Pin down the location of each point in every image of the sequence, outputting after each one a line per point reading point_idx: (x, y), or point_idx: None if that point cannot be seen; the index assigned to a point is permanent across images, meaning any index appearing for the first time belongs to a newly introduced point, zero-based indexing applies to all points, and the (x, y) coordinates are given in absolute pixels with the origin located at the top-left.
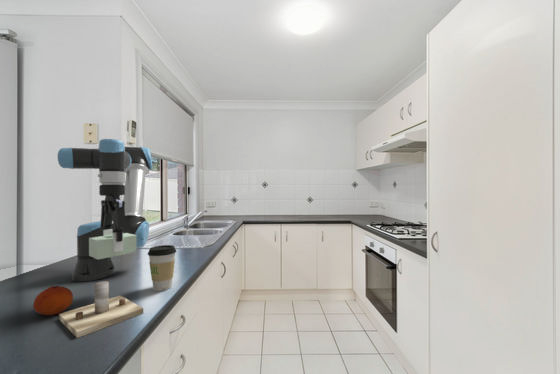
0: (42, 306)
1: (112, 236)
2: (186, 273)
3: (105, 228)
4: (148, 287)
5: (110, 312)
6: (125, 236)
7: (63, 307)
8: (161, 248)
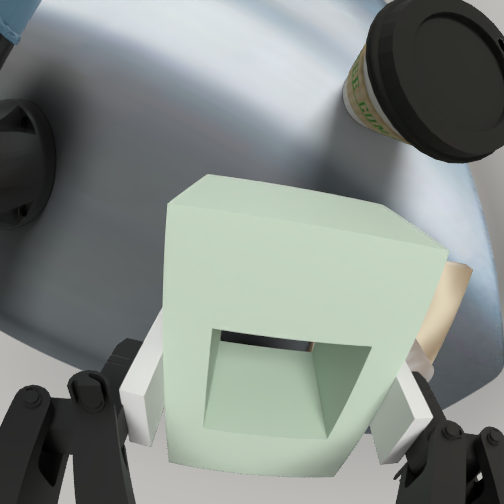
0: None
1: (208, 366)
2: None
3: (124, 440)
4: (319, 115)
5: None
6: (394, 344)
7: None
8: (460, 71)
